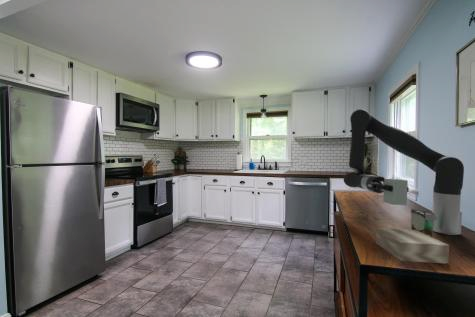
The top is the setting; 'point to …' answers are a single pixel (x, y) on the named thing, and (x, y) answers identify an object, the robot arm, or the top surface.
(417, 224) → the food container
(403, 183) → the sage block
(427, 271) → the top surface
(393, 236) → the birch block
